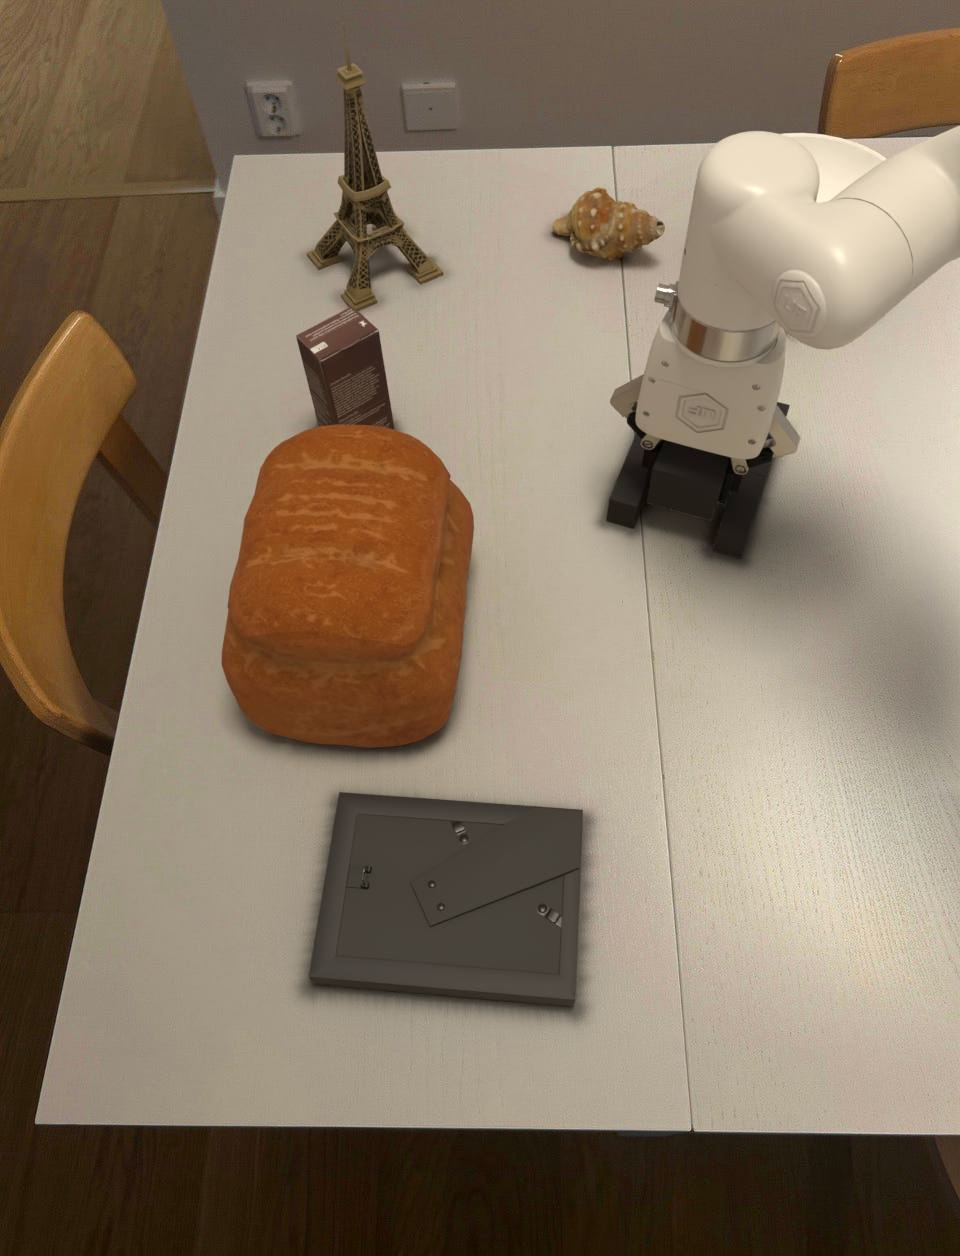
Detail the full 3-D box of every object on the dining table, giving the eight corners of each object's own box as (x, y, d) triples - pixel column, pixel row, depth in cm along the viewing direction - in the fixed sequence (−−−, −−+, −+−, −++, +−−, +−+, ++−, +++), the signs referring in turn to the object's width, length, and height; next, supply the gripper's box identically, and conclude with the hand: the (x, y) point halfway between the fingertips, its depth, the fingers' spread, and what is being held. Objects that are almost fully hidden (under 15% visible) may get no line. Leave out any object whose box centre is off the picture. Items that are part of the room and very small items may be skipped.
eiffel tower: (393, 220, 115) (368, -22, 94) (443, 274, 110) (428, 32, 89) (307, 255, 112) (260, 14, 91) (353, 312, 108) (316, 72, 86)
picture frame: (581, 819, 78) (342, 802, 79) (583, 807, 76) (338, 790, 77) (574, 1007, 71) (312, 984, 72) (575, 999, 69) (306, 976, 70)
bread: (232, 743, 82) (174, 627, 68) (284, 524, 93) (244, 384, 79) (457, 760, 81) (446, 645, 67) (482, 535, 92) (477, 396, 78)
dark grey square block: (730, 466, 91) (740, 430, 87) (711, 521, 88) (720, 486, 84) (667, 449, 92) (674, 412, 89) (646, 503, 89) (652, 468, 86)
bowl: (828, 198, 116) (853, 115, 108) (923, 314, 106) (958, 232, 98) (663, 237, 113) (675, 156, 105) (745, 361, 103) (765, 281, 95)
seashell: (634, 246, 117) (682, 194, 108) (609, 302, 114) (656, 253, 105) (563, 199, 115) (606, 141, 106) (536, 255, 112) (578, 201, 103)
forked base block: (782, 427, 98) (790, 404, 96) (741, 559, 90) (748, 538, 88) (657, 395, 101) (661, 372, 98) (606, 520, 93) (608, 498, 90)
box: (369, 403, 101) (353, 302, 91) (395, 430, 99) (383, 331, 89) (315, 432, 99) (293, 333, 89) (341, 461, 97) (322, 363, 87)
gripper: (594, 321, 75) (579, 487, 90) (839, 381, 71) (780, 543, 86) (625, 254, 78) (606, 425, 94) (860, 309, 75) (799, 476, 90)
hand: (689, 480), depth 90 cm, fingers closed on dark grey square block, 5 cm apart
